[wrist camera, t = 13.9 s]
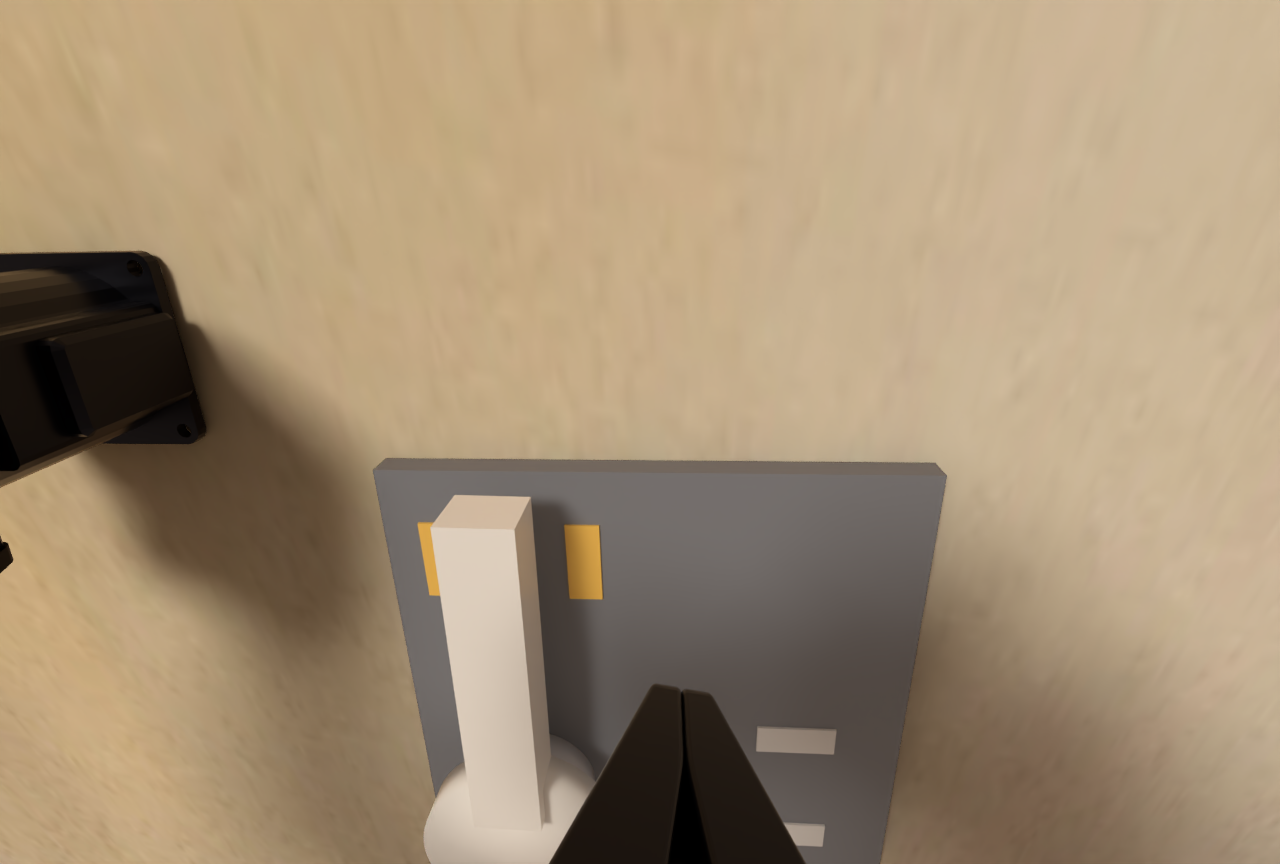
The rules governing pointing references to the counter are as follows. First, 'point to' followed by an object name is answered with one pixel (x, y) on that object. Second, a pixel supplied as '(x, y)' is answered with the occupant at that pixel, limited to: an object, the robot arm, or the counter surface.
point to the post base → (703, 613)
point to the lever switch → (497, 694)
